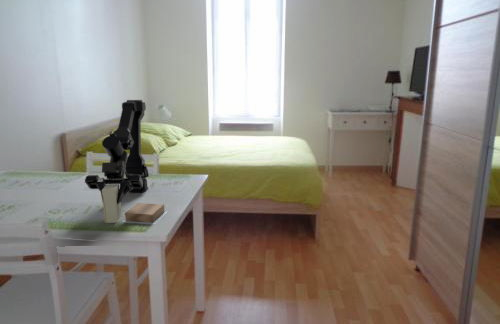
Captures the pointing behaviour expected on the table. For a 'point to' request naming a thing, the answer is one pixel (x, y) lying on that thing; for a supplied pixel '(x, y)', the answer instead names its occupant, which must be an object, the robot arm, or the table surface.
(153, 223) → the plan sheet
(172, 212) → the table surface
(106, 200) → the skincare box
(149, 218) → the walnut plinth
